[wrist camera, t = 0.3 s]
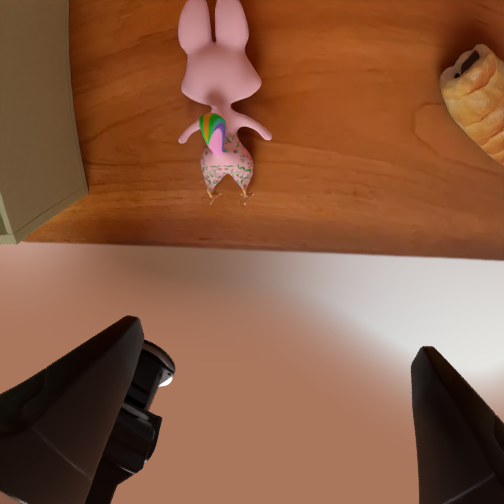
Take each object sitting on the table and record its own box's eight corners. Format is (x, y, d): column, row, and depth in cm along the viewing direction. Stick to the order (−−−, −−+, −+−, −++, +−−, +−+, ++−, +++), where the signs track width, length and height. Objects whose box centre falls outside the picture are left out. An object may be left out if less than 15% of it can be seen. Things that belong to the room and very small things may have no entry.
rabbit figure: (276, 185, 23) (266, -14, 13) (269, 230, 18) (255, -35, 9) (197, 185, 24) (173, -2, 14) (172, 227, 19) (131, -11, 10)
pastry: (531, 132, 15) (558, 143, 12) (489, 180, 18) (513, 198, 15) (471, 38, 13) (498, 33, 10) (422, 88, 16) (446, 89, 13)
